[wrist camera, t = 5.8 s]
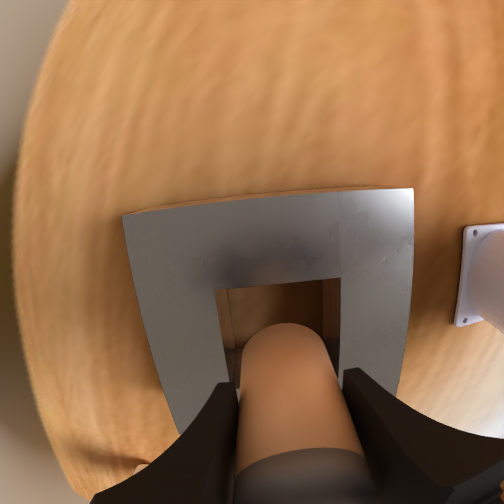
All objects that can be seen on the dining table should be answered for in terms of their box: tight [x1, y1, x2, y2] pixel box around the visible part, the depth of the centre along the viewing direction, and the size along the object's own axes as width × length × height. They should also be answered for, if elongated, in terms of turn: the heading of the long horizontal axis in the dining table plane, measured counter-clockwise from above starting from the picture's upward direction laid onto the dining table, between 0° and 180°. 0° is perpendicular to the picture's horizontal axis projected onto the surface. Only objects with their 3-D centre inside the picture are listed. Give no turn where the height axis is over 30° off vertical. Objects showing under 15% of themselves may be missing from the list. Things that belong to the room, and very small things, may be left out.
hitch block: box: [122, 185, 414, 434], centre depth 17 cm, size 14×14×4 cm
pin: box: [233, 323, 376, 504], centre depth 10 cm, size 4×4×8 cm
